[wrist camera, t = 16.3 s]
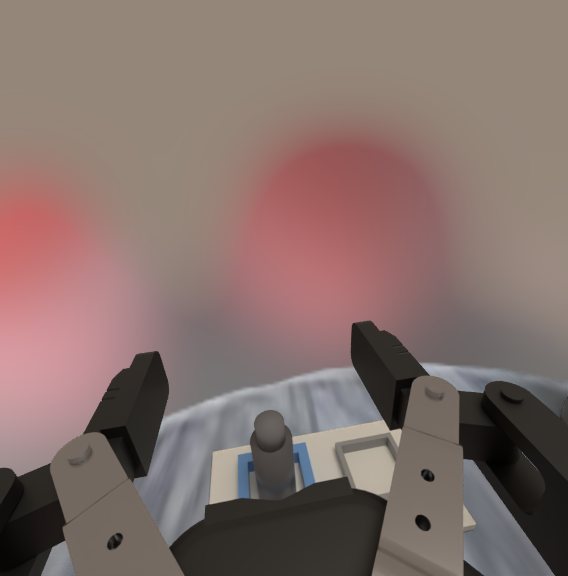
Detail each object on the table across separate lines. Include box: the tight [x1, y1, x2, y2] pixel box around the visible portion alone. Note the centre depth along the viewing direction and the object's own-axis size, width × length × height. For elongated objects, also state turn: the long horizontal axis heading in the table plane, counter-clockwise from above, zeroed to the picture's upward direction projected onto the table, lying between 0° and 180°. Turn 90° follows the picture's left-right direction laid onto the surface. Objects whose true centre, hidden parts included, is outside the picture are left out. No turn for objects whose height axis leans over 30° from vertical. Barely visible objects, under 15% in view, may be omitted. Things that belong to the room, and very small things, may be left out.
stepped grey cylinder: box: [250, 410, 297, 500], centre depth 32 cm, size 4×4×12 cm
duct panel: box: [209, 420, 476, 532], centre depth 35 cm, size 28×14×3 cm, turn 99°
